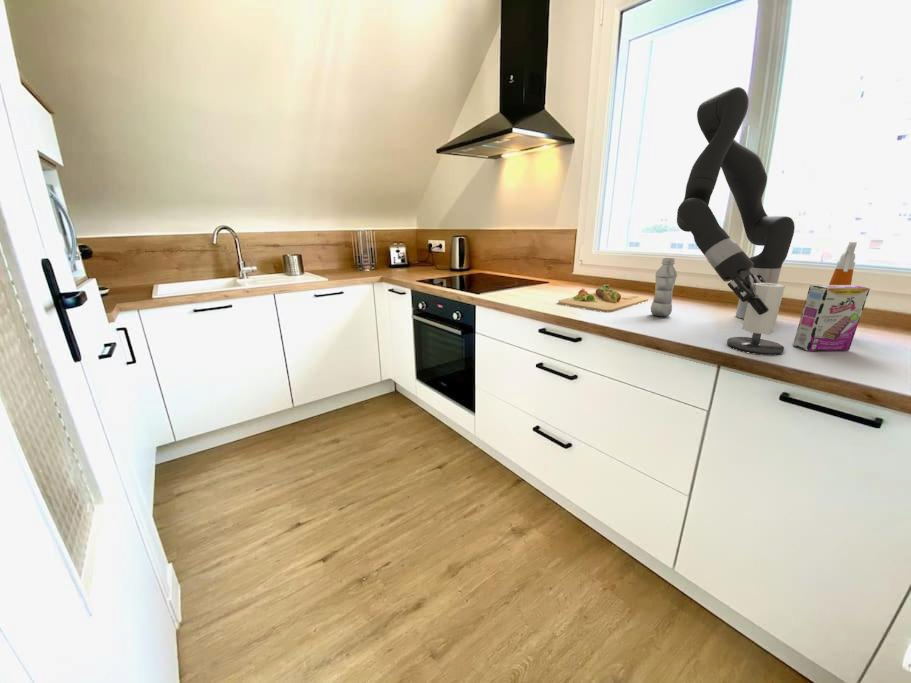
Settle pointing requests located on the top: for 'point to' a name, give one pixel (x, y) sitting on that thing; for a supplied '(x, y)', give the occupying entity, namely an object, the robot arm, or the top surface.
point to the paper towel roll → (772, 300)
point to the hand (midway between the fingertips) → (770, 311)
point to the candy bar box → (830, 317)
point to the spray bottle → (845, 267)
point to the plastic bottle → (664, 288)
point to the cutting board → (603, 300)
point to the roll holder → (755, 345)
